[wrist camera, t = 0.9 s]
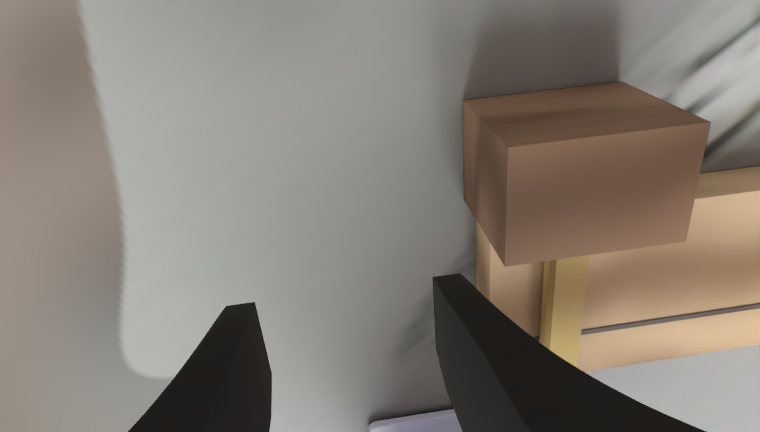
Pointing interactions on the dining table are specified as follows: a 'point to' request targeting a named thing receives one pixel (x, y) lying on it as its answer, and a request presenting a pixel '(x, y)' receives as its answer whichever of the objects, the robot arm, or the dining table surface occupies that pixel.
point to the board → (656, 284)
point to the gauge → (578, 184)
